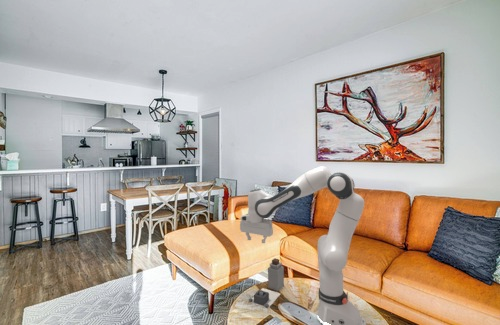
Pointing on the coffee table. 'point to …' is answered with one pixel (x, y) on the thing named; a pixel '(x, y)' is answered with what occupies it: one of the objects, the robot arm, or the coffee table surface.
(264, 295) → the dark grey hollow block
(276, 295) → the grey peg base plate
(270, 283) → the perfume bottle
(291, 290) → the coffee table surface
